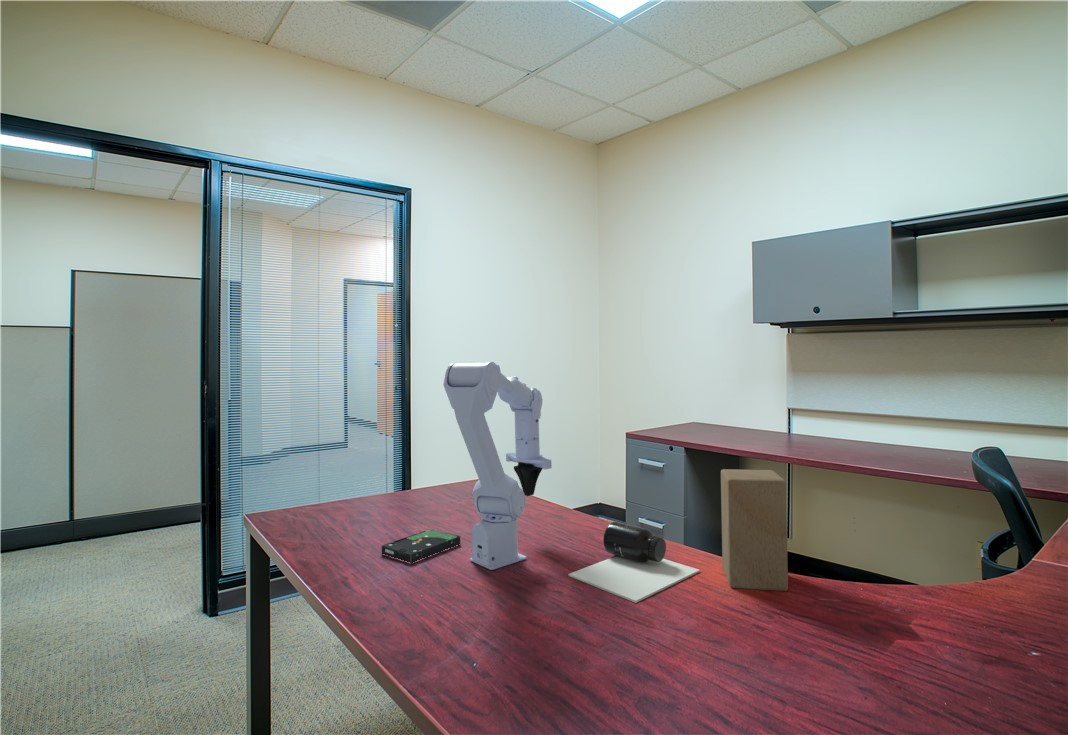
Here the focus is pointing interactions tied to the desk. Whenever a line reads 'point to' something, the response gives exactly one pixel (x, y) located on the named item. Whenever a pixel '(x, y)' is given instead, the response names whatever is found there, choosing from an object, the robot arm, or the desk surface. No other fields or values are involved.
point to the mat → (633, 576)
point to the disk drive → (420, 545)
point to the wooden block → (754, 529)
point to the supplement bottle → (633, 543)
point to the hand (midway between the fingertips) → (528, 494)
